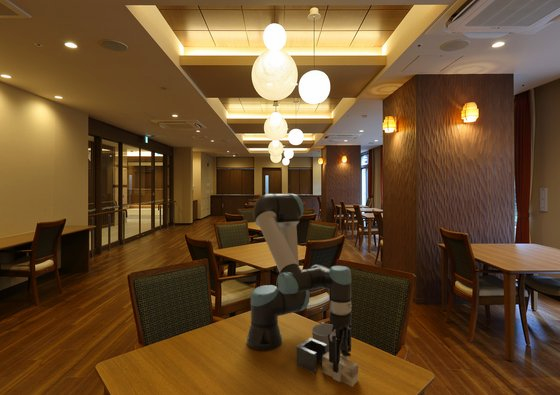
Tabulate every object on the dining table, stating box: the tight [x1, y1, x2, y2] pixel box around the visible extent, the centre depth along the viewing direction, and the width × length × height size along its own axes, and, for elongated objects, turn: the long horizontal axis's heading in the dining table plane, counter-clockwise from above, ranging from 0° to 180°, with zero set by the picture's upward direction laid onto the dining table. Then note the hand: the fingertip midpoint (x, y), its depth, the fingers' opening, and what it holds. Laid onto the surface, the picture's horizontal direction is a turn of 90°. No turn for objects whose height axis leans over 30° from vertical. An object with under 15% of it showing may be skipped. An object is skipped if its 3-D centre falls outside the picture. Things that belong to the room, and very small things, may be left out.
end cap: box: [295, 337, 328, 374], centre depth 113 cm, size 8×9×7 cm
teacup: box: [311, 321, 333, 352], centre depth 126 cm, size 14×11×8 cm
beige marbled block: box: [321, 351, 359, 388], centre depth 105 cm, size 12×4×6 cm, turn 49°
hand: (340, 376), depth 105 cm, fingers closed on beige marbled block, 4 cm apart
